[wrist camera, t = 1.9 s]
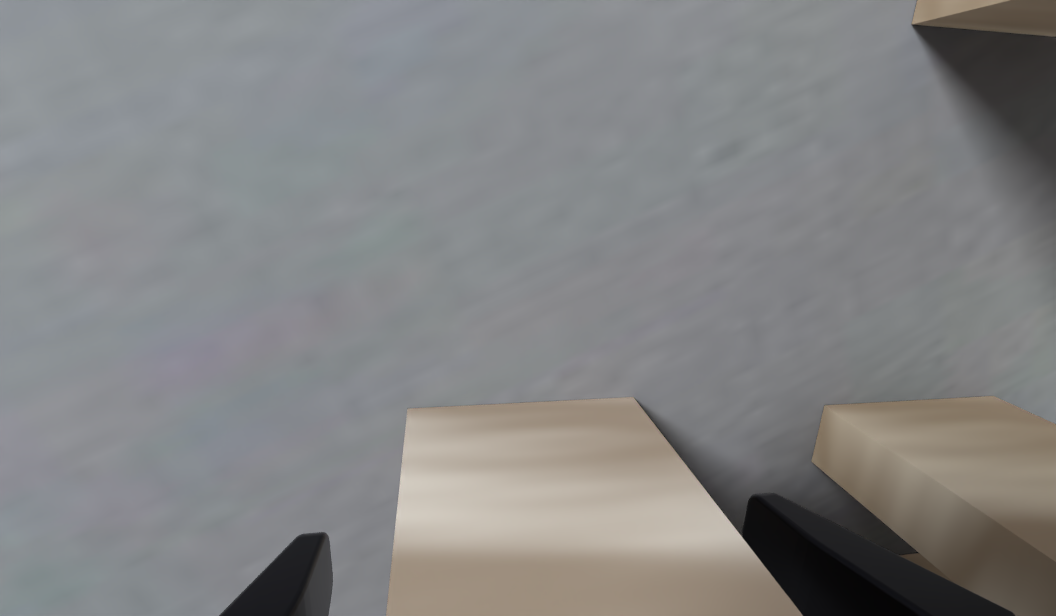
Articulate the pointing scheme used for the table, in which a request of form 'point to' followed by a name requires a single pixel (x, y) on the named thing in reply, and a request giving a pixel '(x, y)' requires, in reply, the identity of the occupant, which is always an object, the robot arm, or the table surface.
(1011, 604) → the domino
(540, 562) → the domino
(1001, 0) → the domino
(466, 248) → the table surface
